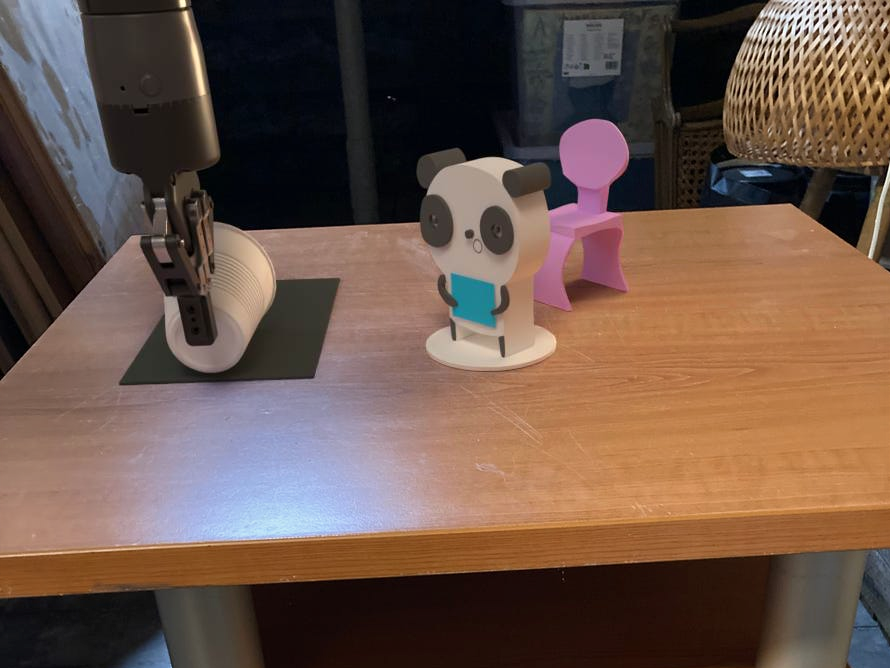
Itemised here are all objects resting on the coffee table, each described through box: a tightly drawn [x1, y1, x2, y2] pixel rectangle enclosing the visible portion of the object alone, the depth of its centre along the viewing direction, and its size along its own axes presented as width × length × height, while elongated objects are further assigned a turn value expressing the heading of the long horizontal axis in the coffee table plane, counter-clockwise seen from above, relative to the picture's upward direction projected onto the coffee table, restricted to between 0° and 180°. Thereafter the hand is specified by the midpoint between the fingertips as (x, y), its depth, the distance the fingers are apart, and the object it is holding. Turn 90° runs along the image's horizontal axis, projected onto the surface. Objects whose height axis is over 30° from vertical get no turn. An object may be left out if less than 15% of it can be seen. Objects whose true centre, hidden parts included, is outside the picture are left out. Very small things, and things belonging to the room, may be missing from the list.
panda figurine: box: [416, 147, 557, 372], centre depth 82 cm, size 12×11×15 cm
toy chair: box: [534, 118, 630, 312], centre depth 93 cm, size 8×9×15 cm
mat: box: [118, 277, 341, 386], centre depth 92 cm, size 26×16×1 cm, turn 2°
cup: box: [162, 221, 277, 373], centre depth 83 cm, size 10×10×11 cm
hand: (202, 342), depth 77 cm, fingers closed
